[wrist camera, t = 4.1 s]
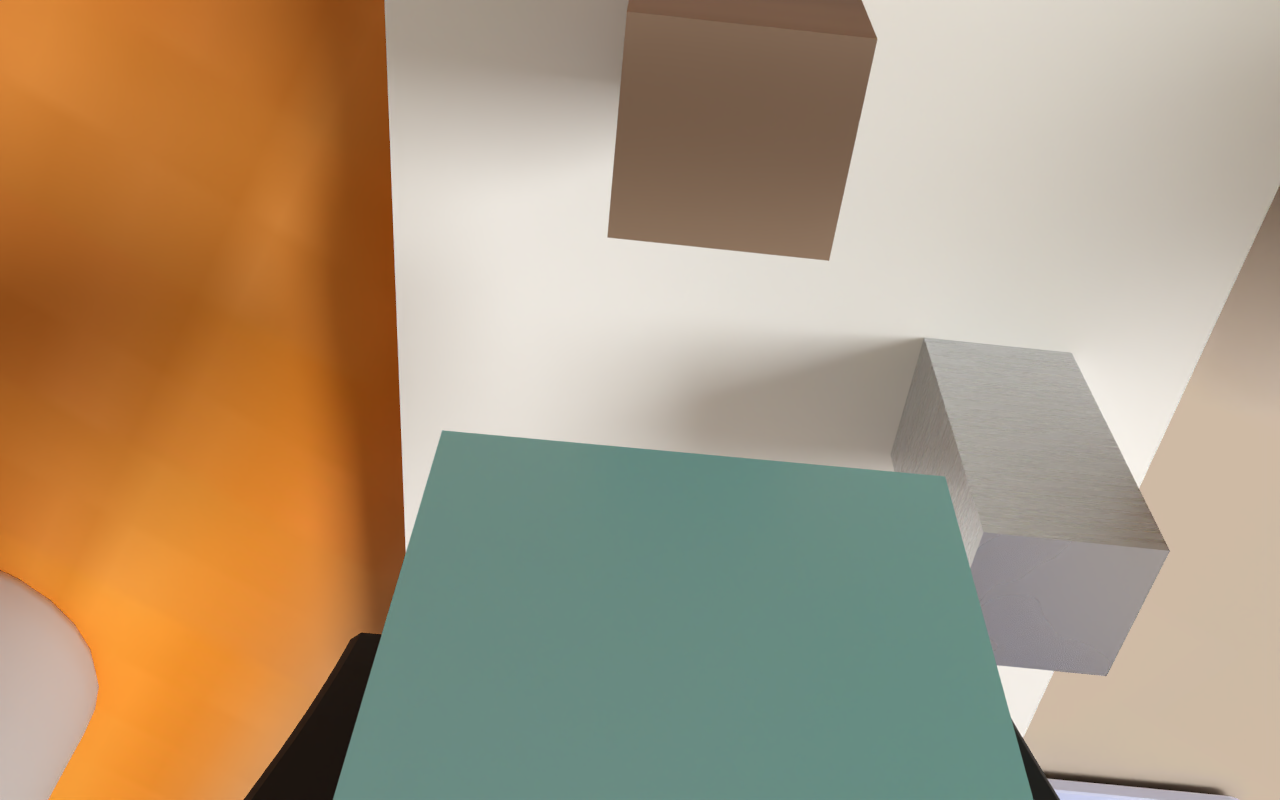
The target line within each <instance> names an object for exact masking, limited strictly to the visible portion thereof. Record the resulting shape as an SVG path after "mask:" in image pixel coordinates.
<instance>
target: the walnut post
mask: <svg viewBox="0 0 1280 800" xmlns="http://www.w3.org/2000/svg"><path fill="white" fill-rule="evenodd" d="M876 44H877V36H876V34H875V31H874V29H873V27H872V24H871V22H870V19H869V17H868V14H867V12H866V9H865V7H864V5H863V2H862V0H629V2H628V7H627V14H626V26H625V37H624V49H623V61H622V72H621V84H620V96H619V107H618V119H617V130H616V142H615V154H614V165H613V177H612V188H611V200H610V212H609V223H608V235H607V238H616V239H626V240H636V241H645V242H655V243H664V244H674V245H683V246H693V247H702V248H712V249H722V250H731V251H741V252H750V253H760V254H769V255H779V256H789V257H798V258H808V259H817V260H827V261H829V259H830V254H831V249H832V245H833V240H834V236H835V231H836V227H837V222H838V217H839V213H840V208H841V204H842V199H843V195H844V190H845V185H846V181H847V176H848V172H849V167H850V163H851V158H852V153H853V149H854V144H855V140H856V135H857V130H858V126H859V121H860V117H861V112H862V108H863V103H864V98H865V94H866V89H867V85H868V80H869V76H870V71H871V66H872V62H873V57H874V53H875V48H876Z"/></svg>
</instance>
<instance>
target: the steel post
mask: <svg viewBox="0 0 1280 800" xmlns="http://www.w3.org/2000/svg"><path fill="white" fill-rule="evenodd" d="M891 458H892V463H893V467H894V472H902V473H913V474H924V475H935V476H945V478H946V481H947V485H948V489H949V492H950V496H951V500H952V503H953V507H954V511H955V514H956V518H957V522H958V525H959V529H960V533H961V536H962V540H963V544H964V547H965V551H966V555H967V558H968V562H969V566H970V569H971V573H972V577H973V580H974V584H975V588H976V591H977V595H978V599H979V602H980V606H981V610H982V613H983V617H984V621H985V624H986V628H987V632H988V635H989V639H990V643H991V646H992V650H993V654H994V657H995V661H996V665H999V666H1009V667H1019V668H1030V669H1040V670H1050V671H1060V672H1070V673H1081V674H1091V675H1101V676H1107V674H1108V672H1109V670H1110V668H1111V666H1112V664H1113V662H1114V660H1115V658H1116V656H1117V654H1118V652H1119V650H1120V648H1121V646H1122V644H1123V642H1124V640H1125V638H1126V636H1127V634H1128V632H1129V631H1130V629H1131V627H1132V625H1133V623H1134V621H1135V619H1136V617H1137V615H1138V613H1139V611H1140V609H1141V607H1142V605H1143V603H1144V601H1145V599H1146V597H1147V595H1148V593H1149V591H1150V589H1151V587H1152V585H1153V583H1154V581H1155V579H1156V577H1157V575H1158V573H1159V571H1160V569H1161V567H1162V565H1163V563H1164V561H1165V560H1166V558H1167V556H1168V554H1169V552H1170V550H1169V548H1168V546H1167V544H1166V542H1165V540H1164V538H1163V536H1162V534H1161V532H1160V530H1159V528H1158V526H1157V524H1156V522H1155V520H1154V518H1153V516H1152V514H1151V512H1150V510H1149V508H1148V506H1147V504H1146V502H1145V500H1144V498H1143V496H1142V494H1141V492H1140V490H1139V488H1138V486H1137V484H1136V482H1135V480H1134V478H1133V475H1132V473H1131V471H1130V469H1129V467H1128V465H1127V463H1126V461H1125V459H1124V457H1123V455H1122V453H1121V451H1120V449H1119V447H1118V445H1117V443H1116V441H1115V439H1114V437H1113V435H1112V433H1111V431H1110V429H1109V427H1108V425H1107V423H1106V421H1105V419H1104V417H1103V415H1102V413H1101V411H1100V409H1099V407H1098V405H1097V403H1096V401H1095V399H1094V397H1093V395H1092V393H1091V391H1090V389H1089V387H1088V385H1087V383H1086V381H1085V379H1084V377H1083V375H1082V373H1081V371H1080V369H1079V367H1078V365H1077V363H1076V360H1075V358H1074V356H1073V354H1072V353H1069V352H1059V351H1050V350H1040V349H1030V348H1021V347H1011V346H1001V345H992V344H982V343H972V342H963V341H953V340H943V339H934V338H924V340H923V343H922V346H921V350H920V353H919V357H918V360H917V364H916V367H915V371H914V374H913V378H912V381H911V385H910V388H909V392H908V395H907V399H906V402H905V406H904V409H903V412H902V416H901V419H900V423H899V426H898V430H897V433H896V437H895V440H894V444H893V447H892V451H891Z"/></svg>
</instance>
